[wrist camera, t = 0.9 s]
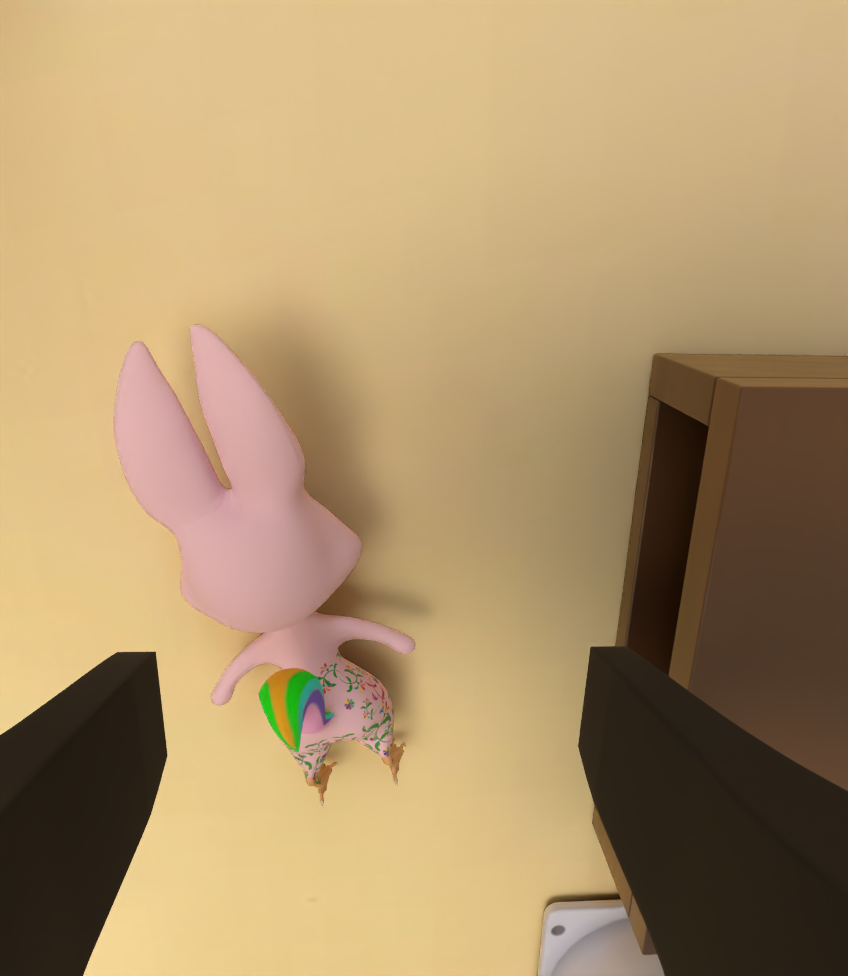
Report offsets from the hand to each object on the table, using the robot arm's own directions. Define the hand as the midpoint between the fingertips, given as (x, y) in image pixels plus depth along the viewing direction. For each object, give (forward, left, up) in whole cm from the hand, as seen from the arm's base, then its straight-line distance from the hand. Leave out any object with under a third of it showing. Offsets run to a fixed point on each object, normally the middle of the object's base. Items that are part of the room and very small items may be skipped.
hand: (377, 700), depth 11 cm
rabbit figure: (-2, +3, -10) cm, 10 cm away
